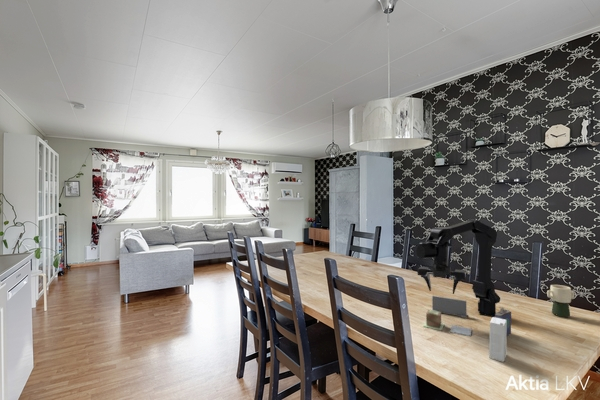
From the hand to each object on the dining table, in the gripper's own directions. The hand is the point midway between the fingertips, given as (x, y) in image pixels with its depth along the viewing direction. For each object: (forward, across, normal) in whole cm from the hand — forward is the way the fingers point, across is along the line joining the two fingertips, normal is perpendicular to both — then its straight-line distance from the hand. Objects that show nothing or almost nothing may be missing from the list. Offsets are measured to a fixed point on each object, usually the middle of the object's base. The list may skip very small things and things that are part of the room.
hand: (441, 292), depth 131 cm
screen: (+12, +2, +9) cm, 15 cm away
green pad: (+12, -2, -9) cm, 15 cm away
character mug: (+14, +45, +32) cm, 57 cm away
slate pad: (+12, +8, -9) cm, 17 cm away
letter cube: (+11, -2, -9) cm, 14 cm away
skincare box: (+12, +19, -25) cm, 34 cm away
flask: (+12, +22, -5) cm, 25 cm away
